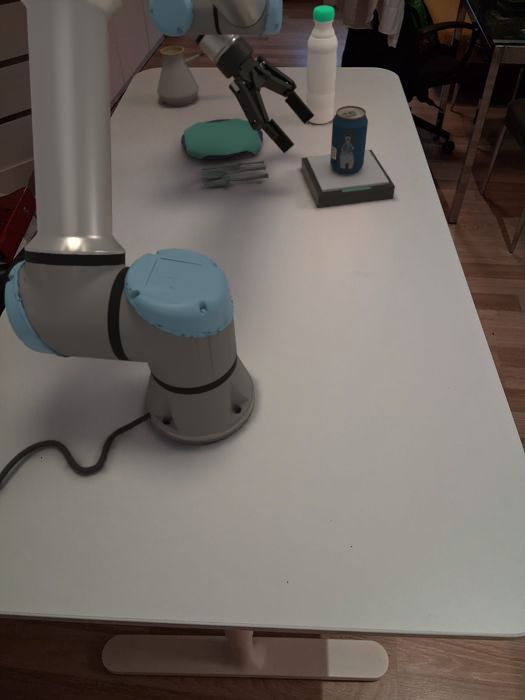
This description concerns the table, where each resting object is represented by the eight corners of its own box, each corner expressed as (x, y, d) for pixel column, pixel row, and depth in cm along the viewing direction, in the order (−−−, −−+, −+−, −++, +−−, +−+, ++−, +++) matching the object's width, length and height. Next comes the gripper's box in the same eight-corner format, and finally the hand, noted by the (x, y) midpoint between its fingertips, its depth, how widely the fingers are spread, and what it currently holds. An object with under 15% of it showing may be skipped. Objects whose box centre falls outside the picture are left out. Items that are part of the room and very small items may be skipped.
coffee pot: (155, 109, 146) (144, 48, 135) (163, 91, 154) (153, 33, 143) (232, 108, 144) (228, 47, 133) (237, 91, 152) (233, 32, 141)
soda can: (352, 157, 117) (357, 101, 108) (369, 172, 112) (375, 115, 104) (324, 165, 115) (327, 108, 106) (339, 180, 111) (343, 122, 102)
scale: (317, 207, 110) (318, 193, 108) (301, 169, 121) (301, 155, 119) (393, 198, 112) (395, 183, 109) (370, 161, 122) (371, 147, 120)
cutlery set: (256, 122, 138) (256, 113, 136) (278, 181, 118) (278, 171, 116) (179, 131, 136) (178, 122, 135) (187, 192, 116) (186, 182, 114)
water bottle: (300, 119, 138) (301, 8, 120) (319, 110, 141) (323, 0, 123) (319, 127, 135) (324, 14, 116) (339, 118, 138) (346, 7, 119)
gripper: (240, 41, 115) (305, 119, 122) (189, 86, 100) (267, 172, 107) (262, 15, 110) (329, 98, 117) (212, 58, 95) (292, 151, 102)
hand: (299, 133), depth 112 cm, fingers open, 13 cm apart
